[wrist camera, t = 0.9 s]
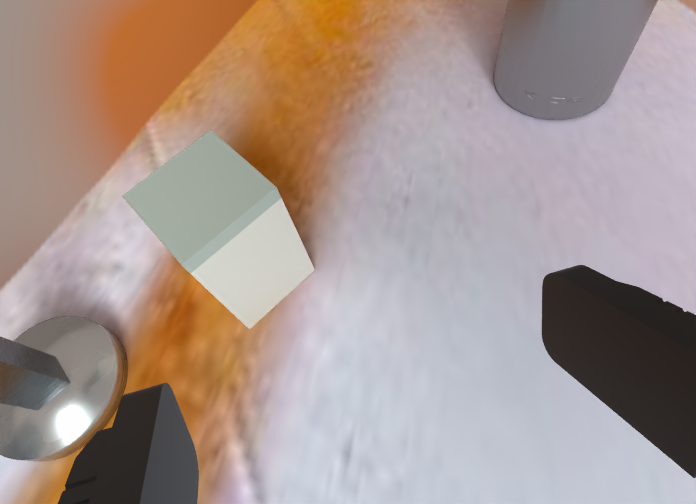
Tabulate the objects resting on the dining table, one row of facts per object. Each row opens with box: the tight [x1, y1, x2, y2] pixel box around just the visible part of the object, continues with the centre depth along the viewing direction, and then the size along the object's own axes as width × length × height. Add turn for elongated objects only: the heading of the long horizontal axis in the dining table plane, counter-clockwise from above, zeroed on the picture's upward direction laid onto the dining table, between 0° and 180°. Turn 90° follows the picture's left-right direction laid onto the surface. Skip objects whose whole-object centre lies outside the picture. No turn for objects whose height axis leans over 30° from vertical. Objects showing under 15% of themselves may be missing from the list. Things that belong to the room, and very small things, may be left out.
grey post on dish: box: [0, 316, 127, 461], centre depth 27 cm, size 9×9×8 cm
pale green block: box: [122, 130, 315, 329], centre depth 28 cm, size 6×6×10 cm
